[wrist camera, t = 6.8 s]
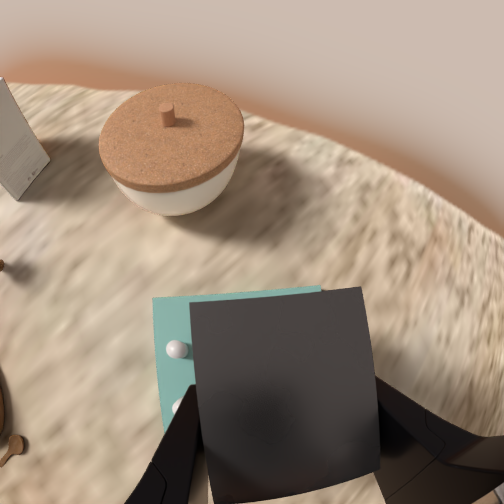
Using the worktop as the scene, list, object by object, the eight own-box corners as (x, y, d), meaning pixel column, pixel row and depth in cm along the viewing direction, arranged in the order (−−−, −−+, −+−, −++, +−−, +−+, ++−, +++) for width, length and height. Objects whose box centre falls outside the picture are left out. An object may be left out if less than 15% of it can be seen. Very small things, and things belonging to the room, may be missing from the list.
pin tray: (333, 428, 19) (352, 437, 16) (169, 448, 17) (161, 463, 14) (316, 288, 23) (331, 276, 20) (155, 300, 21) (144, 290, 18)
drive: (297, 417, 15) (380, 469, 6) (216, 428, 15) (213, 505, 5) (286, 325, 17) (360, 283, 8) (206, 332, 17) (188, 298, 7)
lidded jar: (154, 133, 27) (140, 62, 19) (250, 155, 27) (264, 80, 19) (105, 217, 23) (62, 153, 15) (214, 252, 23) (213, 188, 15)
